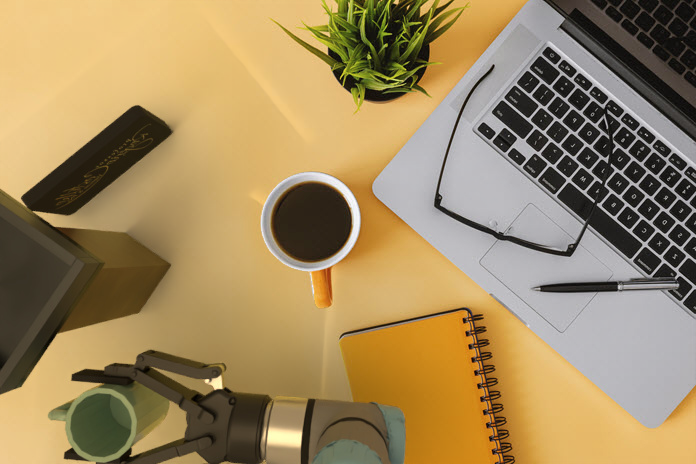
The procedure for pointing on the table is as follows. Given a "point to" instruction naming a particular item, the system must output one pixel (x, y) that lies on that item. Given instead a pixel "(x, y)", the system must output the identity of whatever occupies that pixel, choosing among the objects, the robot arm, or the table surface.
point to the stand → (115, 277)
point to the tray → (35, 287)
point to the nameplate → (98, 163)
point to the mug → (110, 419)
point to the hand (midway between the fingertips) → (75, 412)
